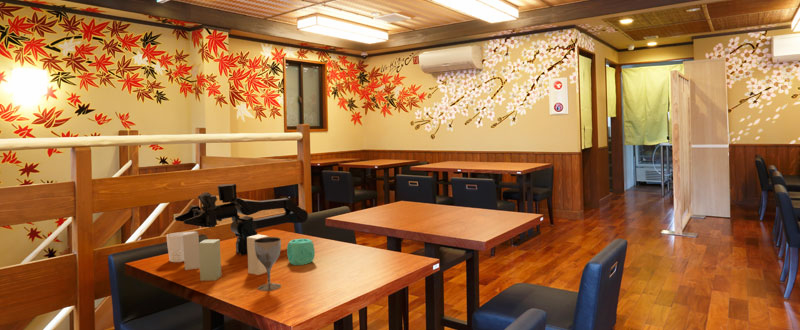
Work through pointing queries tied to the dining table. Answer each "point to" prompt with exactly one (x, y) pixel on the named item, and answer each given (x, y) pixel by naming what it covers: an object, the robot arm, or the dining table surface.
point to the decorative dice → (300, 251)
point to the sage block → (210, 259)
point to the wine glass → (268, 257)
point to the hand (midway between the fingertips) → (179, 220)
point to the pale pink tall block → (191, 250)
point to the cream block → (254, 256)
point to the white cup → (175, 247)
